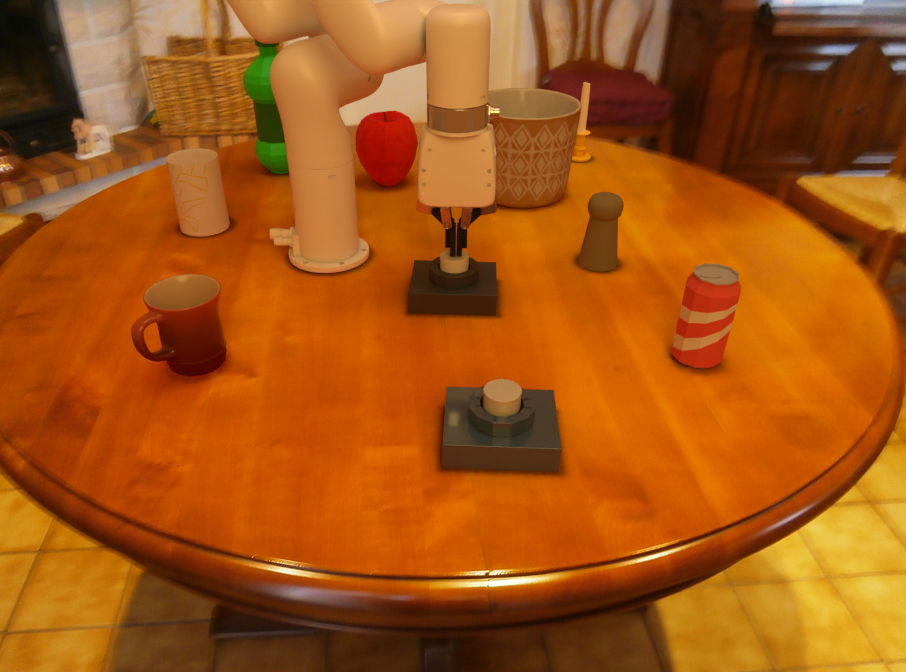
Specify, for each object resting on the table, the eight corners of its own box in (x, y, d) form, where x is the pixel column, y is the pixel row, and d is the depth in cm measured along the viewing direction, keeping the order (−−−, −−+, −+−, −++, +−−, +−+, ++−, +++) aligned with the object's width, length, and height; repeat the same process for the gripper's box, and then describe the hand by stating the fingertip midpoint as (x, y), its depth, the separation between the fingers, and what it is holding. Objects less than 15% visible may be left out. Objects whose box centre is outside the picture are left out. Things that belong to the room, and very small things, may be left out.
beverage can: (664, 344, 96) (682, 261, 89) (714, 345, 95) (736, 261, 88) (675, 371, 91) (695, 285, 84) (727, 372, 90) (752, 286, 83)
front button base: (442, 468, 76) (442, 431, 73) (446, 408, 85) (446, 373, 82) (558, 472, 76) (563, 435, 73) (551, 412, 84) (555, 376, 81)
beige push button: (482, 416, 76) (483, 400, 75) (482, 393, 79) (483, 378, 78) (521, 417, 76) (522, 402, 75) (519, 394, 79) (521, 379, 78)
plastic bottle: (258, 161, 151) (239, 29, 137) (309, 159, 152) (296, 28, 138) (253, 179, 143) (233, 40, 129) (308, 176, 144) (294, 39, 130)
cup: (170, 231, 123) (154, 161, 116) (200, 213, 130) (187, 145, 123) (210, 239, 121) (197, 168, 114) (239, 220, 127) (228, 152, 120)
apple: (384, 167, 149) (381, 99, 141) (431, 179, 143) (431, 109, 135) (345, 184, 141) (340, 113, 133) (393, 198, 135) (390, 125, 128)
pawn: (617, 273, 112) (628, 204, 105) (576, 269, 113) (585, 201, 106) (617, 255, 116) (627, 189, 110) (578, 252, 117) (587, 185, 111)
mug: (200, 337, 97) (184, 267, 91) (249, 357, 93) (236, 285, 87) (125, 383, 88) (102, 309, 82) (175, 406, 85) (156, 331, 79)
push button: (439, 274, 101) (439, 260, 100) (440, 261, 105) (440, 248, 103) (468, 275, 101) (468, 261, 100) (468, 261, 105) (469, 248, 103)
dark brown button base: (409, 313, 102) (408, 281, 99) (414, 279, 110) (414, 248, 107) (495, 316, 101) (497, 283, 98) (495, 281, 109) (496, 250, 107)
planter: (587, 187, 140) (599, 97, 131) (543, 222, 127) (552, 125, 117) (498, 167, 149) (503, 82, 139) (448, 198, 135) (449, 106, 126)
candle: (576, 152, 156) (585, 75, 147) (595, 158, 153) (606, 80, 144) (560, 157, 154) (568, 79, 145) (579, 164, 150) (588, 84, 141)
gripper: (516, 108, 94) (509, 241, 104) (399, 107, 94) (404, 239, 105) (519, 126, 87) (511, 265, 98) (394, 125, 88) (399, 263, 99)
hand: (456, 252), depth 101 cm, fingers closed
